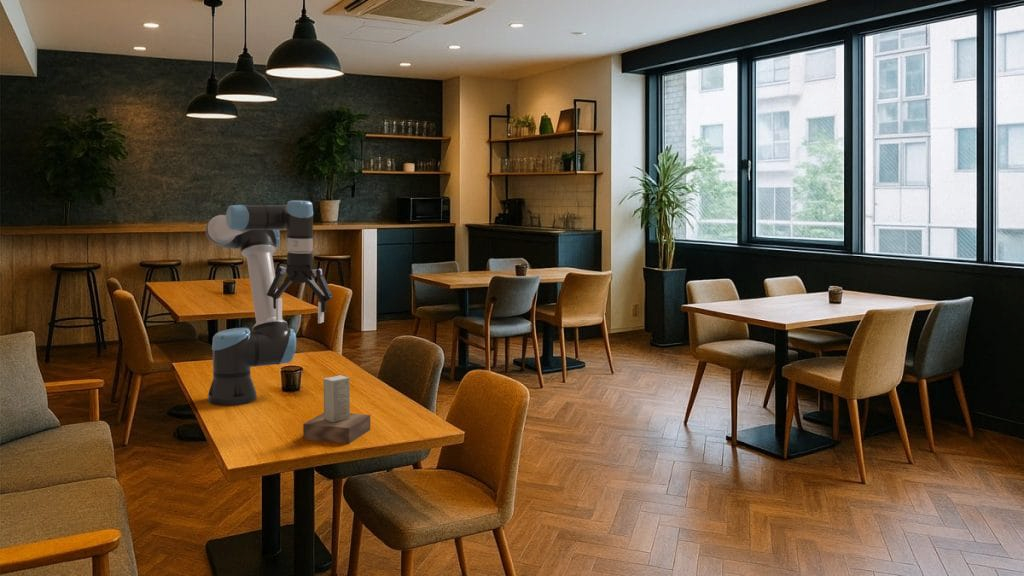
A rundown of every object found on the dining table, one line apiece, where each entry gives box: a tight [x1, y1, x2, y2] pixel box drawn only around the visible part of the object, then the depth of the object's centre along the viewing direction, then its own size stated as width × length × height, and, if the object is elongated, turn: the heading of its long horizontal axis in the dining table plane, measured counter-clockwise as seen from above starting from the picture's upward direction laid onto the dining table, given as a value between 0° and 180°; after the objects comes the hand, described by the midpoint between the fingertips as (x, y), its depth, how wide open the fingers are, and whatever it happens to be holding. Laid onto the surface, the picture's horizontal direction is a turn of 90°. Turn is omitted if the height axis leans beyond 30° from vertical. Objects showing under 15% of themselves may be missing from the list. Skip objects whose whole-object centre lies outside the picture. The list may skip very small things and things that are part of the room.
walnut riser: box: [302, 412, 371, 445], centre depth 230 cm, size 14×14×5 cm
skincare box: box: [323, 374, 351, 422], centre depth 229 cm, size 6×4×12 cm
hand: (299, 321), depth 246 cm, fingers open, 13 cm apart
